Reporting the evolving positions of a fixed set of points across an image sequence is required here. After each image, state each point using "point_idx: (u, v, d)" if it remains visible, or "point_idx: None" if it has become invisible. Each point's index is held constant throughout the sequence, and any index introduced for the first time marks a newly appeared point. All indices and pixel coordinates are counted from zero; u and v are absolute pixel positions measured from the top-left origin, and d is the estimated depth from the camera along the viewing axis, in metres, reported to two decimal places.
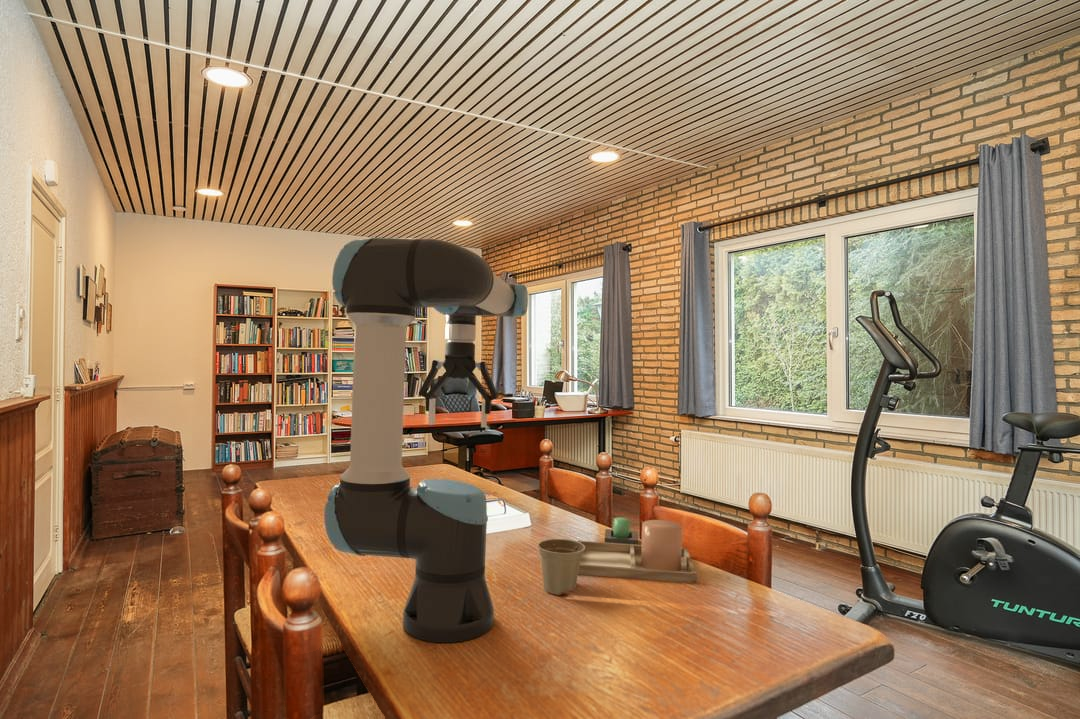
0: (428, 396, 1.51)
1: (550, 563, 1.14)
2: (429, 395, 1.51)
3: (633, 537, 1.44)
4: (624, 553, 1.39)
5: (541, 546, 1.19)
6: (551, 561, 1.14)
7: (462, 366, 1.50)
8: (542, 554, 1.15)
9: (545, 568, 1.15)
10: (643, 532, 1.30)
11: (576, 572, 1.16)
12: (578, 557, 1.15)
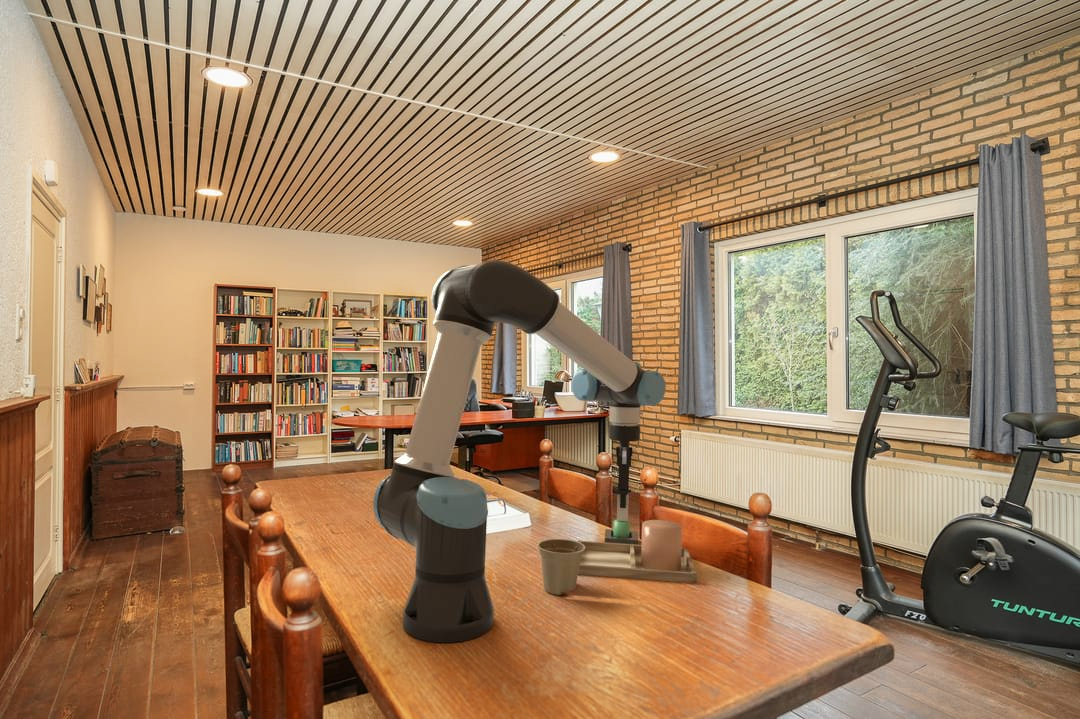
0: None
1: (550, 563, 1.14)
2: None
3: (633, 537, 1.44)
4: (624, 553, 1.39)
5: (541, 546, 1.19)
6: (551, 561, 1.14)
7: (616, 450, 1.46)
8: (542, 554, 1.15)
9: (545, 568, 1.15)
10: (643, 532, 1.30)
11: (576, 572, 1.16)
12: (578, 557, 1.15)
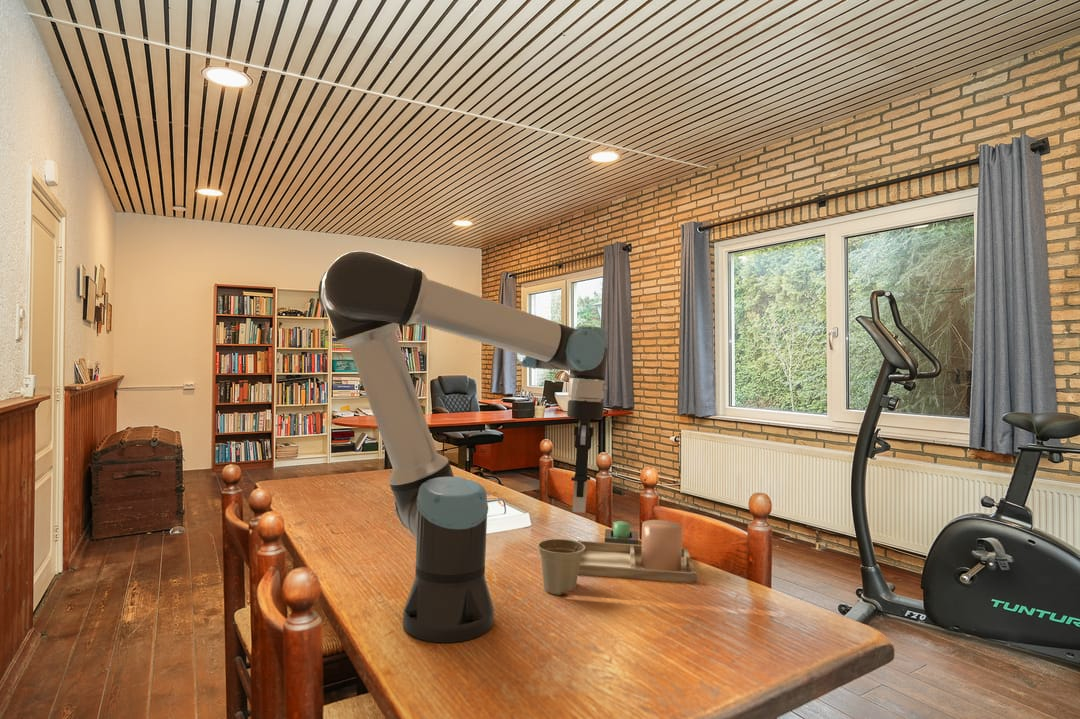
0: None
1: (550, 563, 1.14)
2: None
3: (633, 537, 1.44)
4: (624, 553, 1.39)
5: (541, 546, 1.19)
6: (551, 561, 1.14)
7: None
8: (542, 554, 1.15)
9: (545, 568, 1.15)
10: (643, 532, 1.30)
11: (576, 572, 1.16)
12: (578, 557, 1.15)
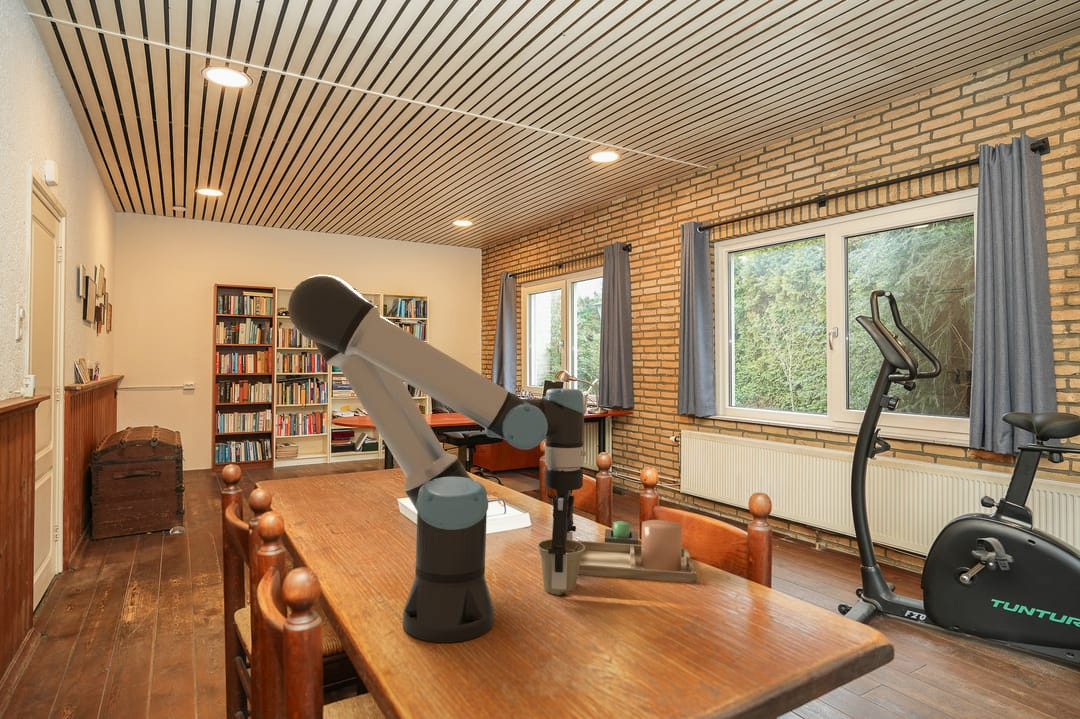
0: None
1: (550, 563, 1.14)
2: None
3: (633, 537, 1.44)
4: (624, 553, 1.39)
5: (541, 546, 1.19)
6: (551, 561, 1.14)
7: (553, 499, 1.17)
8: (542, 554, 1.15)
9: (545, 568, 1.15)
10: (643, 532, 1.30)
11: (576, 572, 1.16)
12: (578, 557, 1.15)
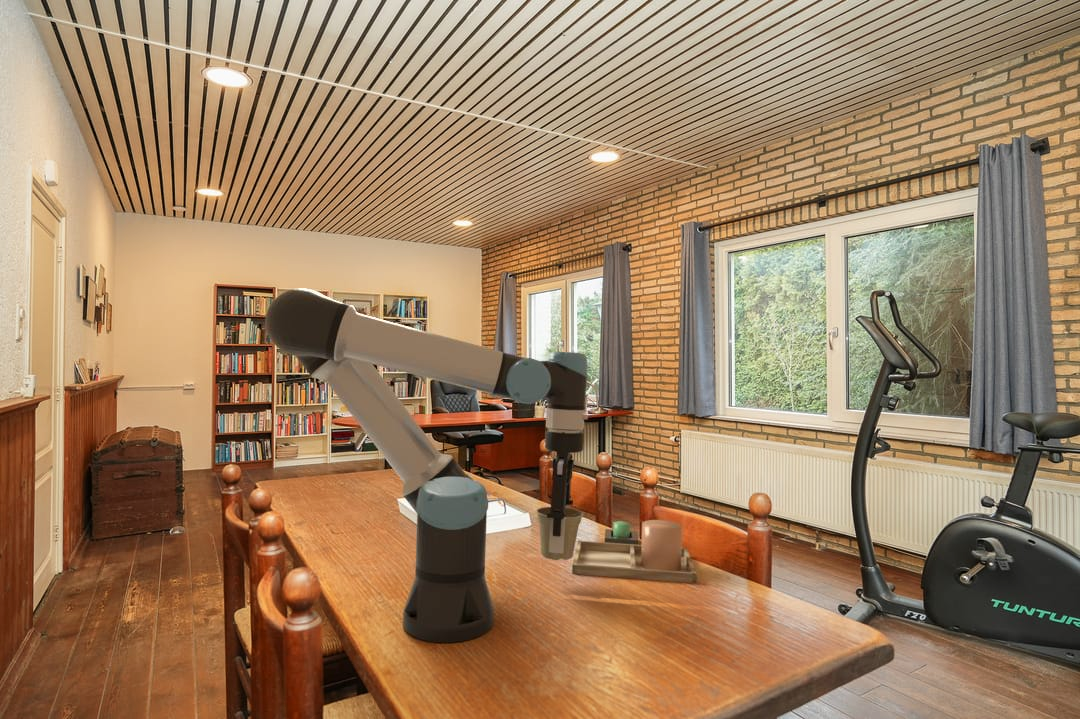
0: None
1: (548, 527, 1.14)
2: None
3: (633, 537, 1.44)
4: (624, 553, 1.39)
5: (539, 512, 1.19)
6: (549, 526, 1.14)
7: (552, 462, 1.17)
8: (540, 519, 1.15)
9: (543, 533, 1.15)
10: (643, 532, 1.30)
11: (574, 538, 1.16)
12: (576, 523, 1.15)
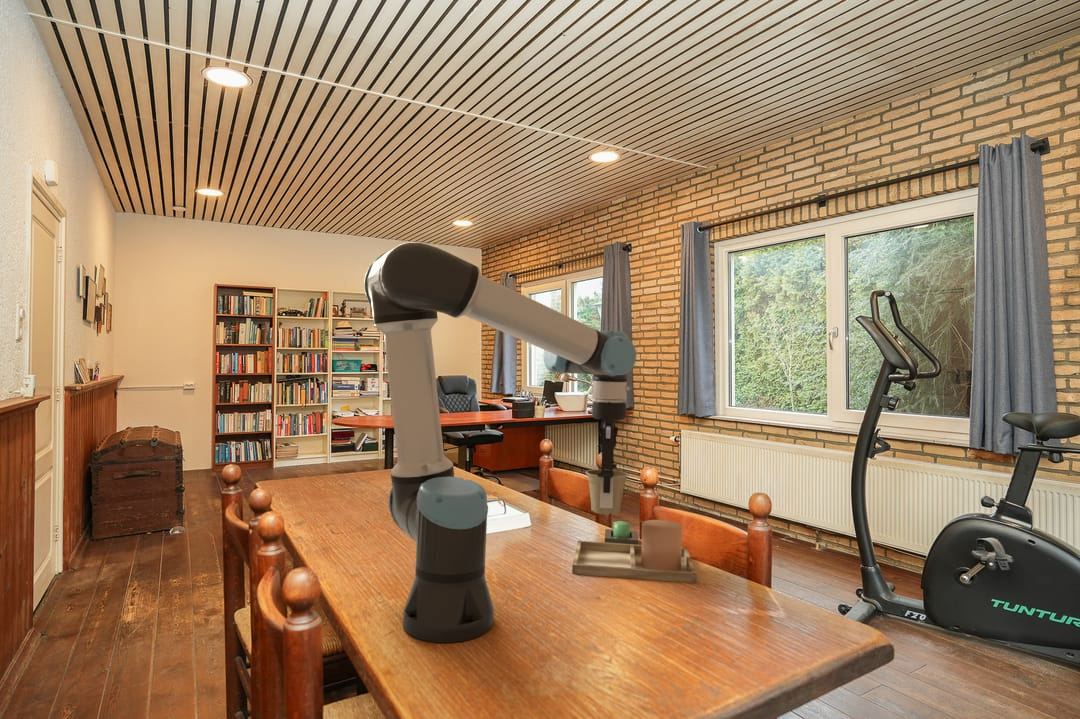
0: None
1: (598, 486, 1.29)
2: None
3: (633, 537, 1.44)
4: (624, 553, 1.39)
5: None
6: (599, 485, 1.29)
7: None
8: (591, 479, 1.30)
9: (593, 491, 1.30)
10: (643, 532, 1.30)
11: (621, 495, 1.31)
12: (623, 481, 1.30)
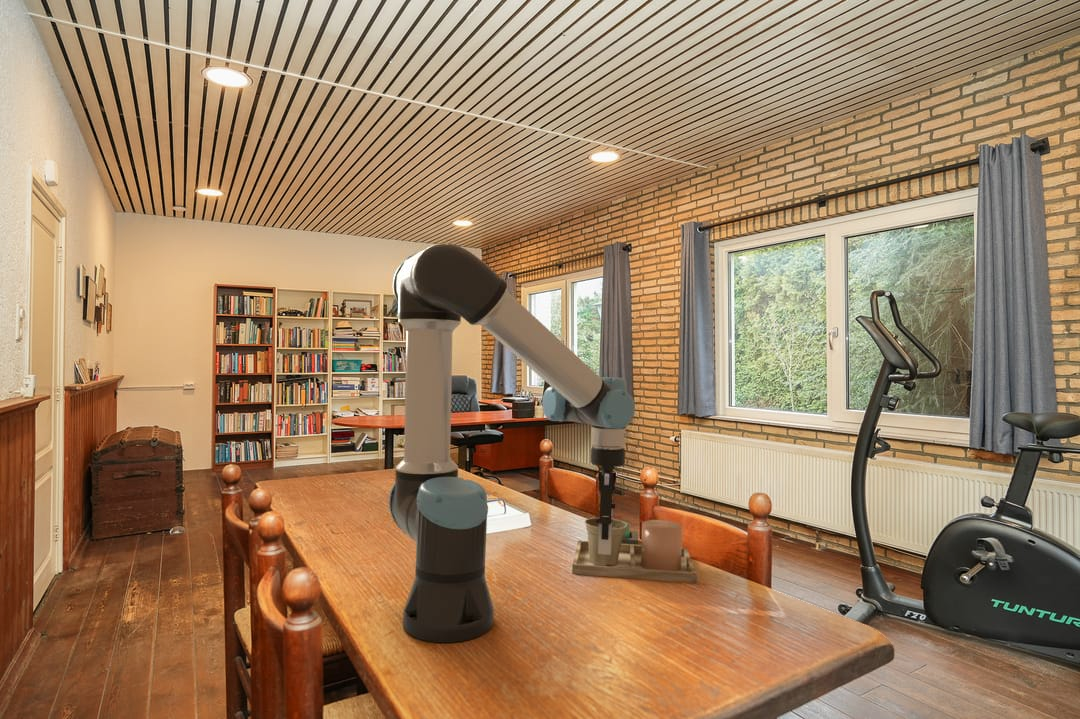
0: None
1: (596, 537, 1.29)
2: None
3: (633, 537, 1.44)
4: (624, 553, 1.39)
5: (587, 523, 1.34)
6: None
7: (598, 475, 1.31)
8: (589, 529, 1.30)
9: (592, 542, 1.30)
10: (643, 532, 1.30)
11: (619, 546, 1.30)
12: (621, 533, 1.30)
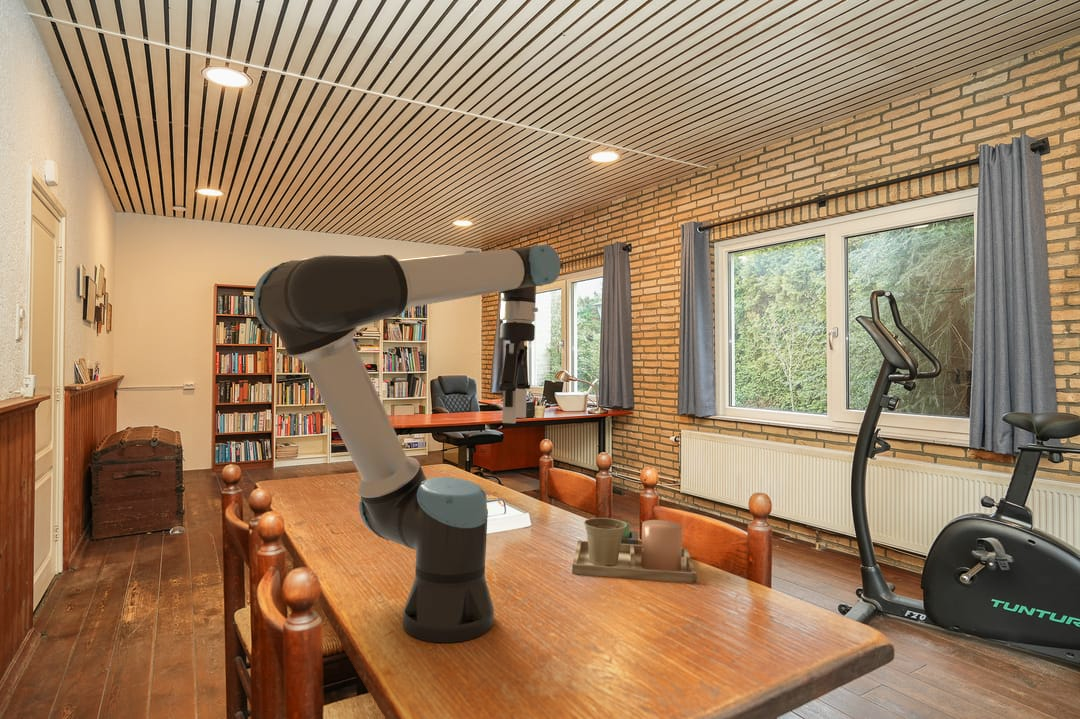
0: (515, 385, 1.38)
1: (596, 538, 1.29)
2: (515, 384, 1.38)
3: (633, 537, 1.44)
4: (624, 553, 1.39)
5: (586, 524, 1.34)
6: (597, 536, 1.29)
7: None
8: (588, 530, 1.30)
9: (591, 543, 1.30)
10: (643, 532, 1.30)
11: (619, 546, 1.30)
12: (621, 533, 1.30)
